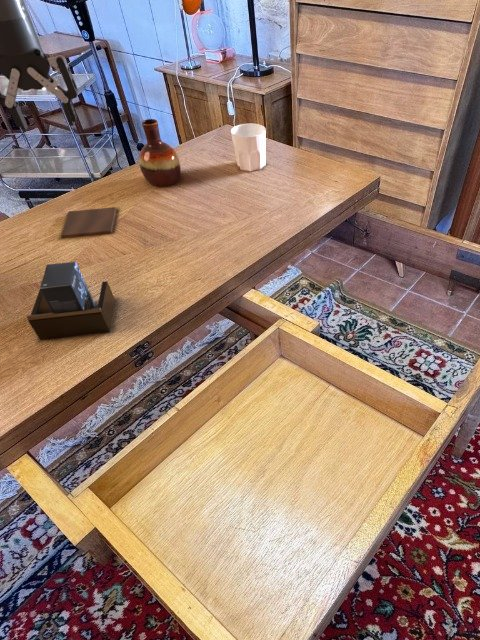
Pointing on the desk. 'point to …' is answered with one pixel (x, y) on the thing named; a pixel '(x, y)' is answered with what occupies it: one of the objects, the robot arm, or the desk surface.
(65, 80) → the robot arm
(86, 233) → the plate
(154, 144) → the vase
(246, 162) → the cup
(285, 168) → the desk surface
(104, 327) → the dark brown open tray
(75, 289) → the box
